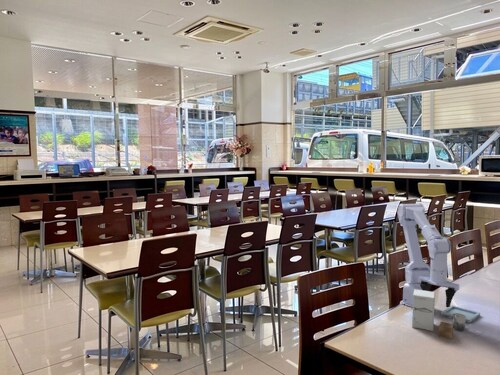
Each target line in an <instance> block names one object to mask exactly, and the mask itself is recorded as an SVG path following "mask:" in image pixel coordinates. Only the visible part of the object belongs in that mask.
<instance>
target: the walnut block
mask: <svg viewBox="0 0 500 375" xmlns="http://www.w3.org/2000/svg"><path fill="white" fill-rule="evenodd" d="M453 335H454V329H453V323H450V322H444V321H440V322H439V325H438V337H441V338H444V339H450V340H452V339H453Z"/></svg>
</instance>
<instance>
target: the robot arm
mask: <svg viewBox="0 0 500 375" xmlns="http://www.w3.org/2000/svg"><path fill="white" fill-rule="evenodd" d="M396 213H397V218H398V221H399V224H400V225H402V228H403V232H404V239H405V243H406V249H407V253H408V257H409V262H410V263H409V264H407V265H406V266H405V268H404V270H405V276H404V277H405V281H406V282H405V283H404V285H403V289H402V302H401V304H402V305H404V304H405V305H404V306H408V307H411V308H413V294H414V289H417V290H424V291H430V292H431V288H432V285H434V286H438V287H442V288H445V290H444V292H445V298H446V299H445V307H446V308H449V307H450V306H451V304H452V300H453V299H454V296H455V294H456V293H457V292H458V291H460V284H458V283H455V282H451V281H449V280H448V279H447V278H448V277H447V276H448V254H449V253H451V250H452V246H451V245H452V244H451V242H450V239H449V238H447V237H444V236H442V235H441V233H440V232H439V230H438V229H437V227H436V226H435V225H432V224H430V222H429V220H428V218H427V216H426V208H425V206H424V205H423V203H419V202H418V203H400V204H399V205H398V207H397V212H396ZM416 225H418V226H419V228H420V229H421V231H420V233H421V235H422V236H423V238H424V240H425V241H426V242H427V249H428V255H429V258H430V264H427V263H426V262H424V260H423V255H422V251H421V246H420V241H419V238H418V234H417V229H416V228H417V227H416Z"/></svg>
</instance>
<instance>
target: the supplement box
mask: <svg viewBox="0 0 500 375" xmlns="http://www.w3.org/2000/svg"><path fill="white" fill-rule="evenodd" d="M435 300H436V292H435V291H431V290H430V291H424V290H417V289H414V294H413V307H412V316H411V317H412V318H411V322H412V323H411V327H412V328H416V329H422V330H427V331H431V332H434V326H435V325H434V324H435V323H434V322H435Z"/></svg>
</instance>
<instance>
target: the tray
mask: <svg viewBox="0 0 500 375" xmlns="http://www.w3.org/2000/svg"><path fill="white" fill-rule="evenodd" d="M455 313H459V314H463V315H465V316H466V319H465V323H466V324H472V323H473V322H474V321H476V320H477V319H478V318H479V317H480V316H481V312H478V311H475V310H471V309H467V308H463V307H460V306H456V305H453V304H452V305H450V307H446V308H445V309H444V310H443V311H441V312H440V314H441V316H443V317H446V318H449V319H453V314H455Z"/></svg>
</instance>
